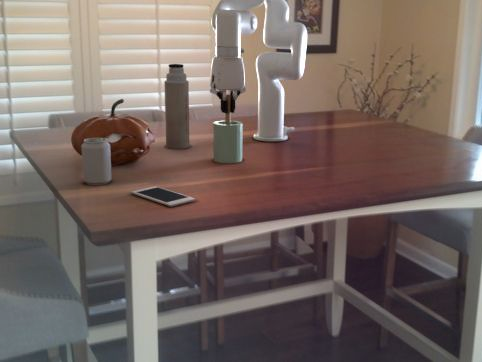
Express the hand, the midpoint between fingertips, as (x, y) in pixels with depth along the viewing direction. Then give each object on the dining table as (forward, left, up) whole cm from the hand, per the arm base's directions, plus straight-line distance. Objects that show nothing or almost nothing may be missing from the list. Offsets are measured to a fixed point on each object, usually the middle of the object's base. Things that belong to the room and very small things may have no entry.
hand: (227, 112), depth 208 cm
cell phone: (+34, +30, -15) cm, 48 cm away
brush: (0, 0, -12) cm, 12 cm away
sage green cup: (0, 0, -15) cm, 15 cm away
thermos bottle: (+6, -26, -16) cm, 31 cm away
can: (+44, +8, -16) cm, 47 cm away
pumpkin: (+32, -14, -16) cm, 38 cm away
